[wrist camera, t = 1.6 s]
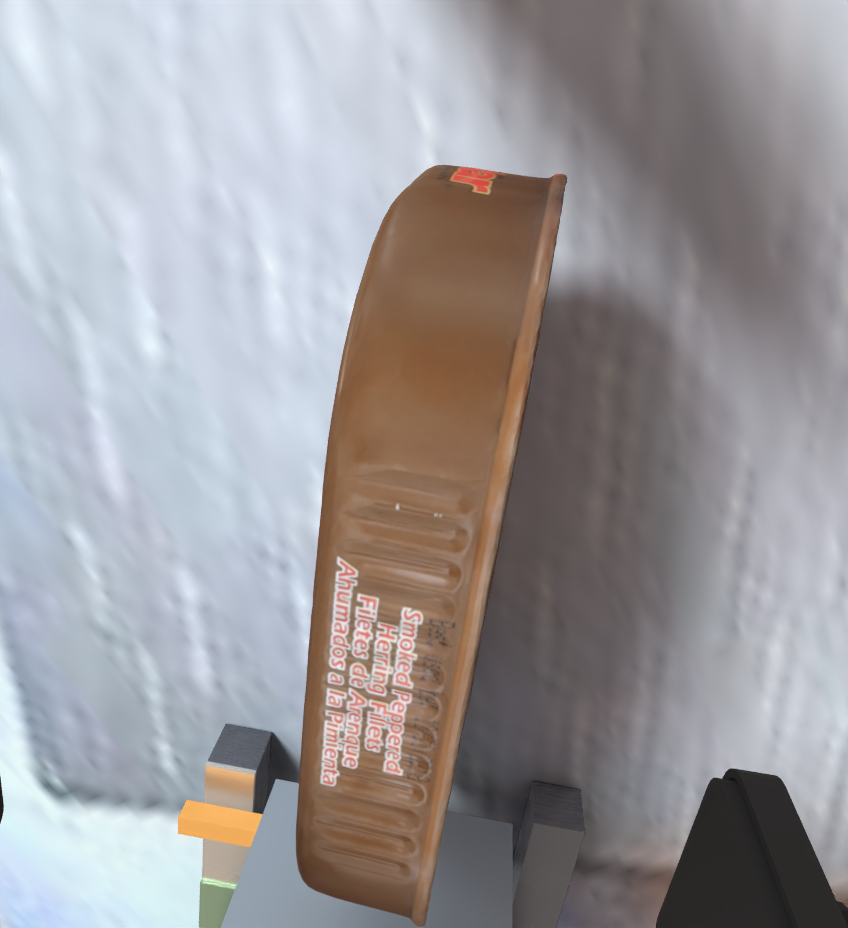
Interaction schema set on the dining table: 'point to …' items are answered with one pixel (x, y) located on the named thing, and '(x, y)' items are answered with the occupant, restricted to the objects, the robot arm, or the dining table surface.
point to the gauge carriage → (341, 922)
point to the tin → (415, 522)
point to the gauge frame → (534, 863)
